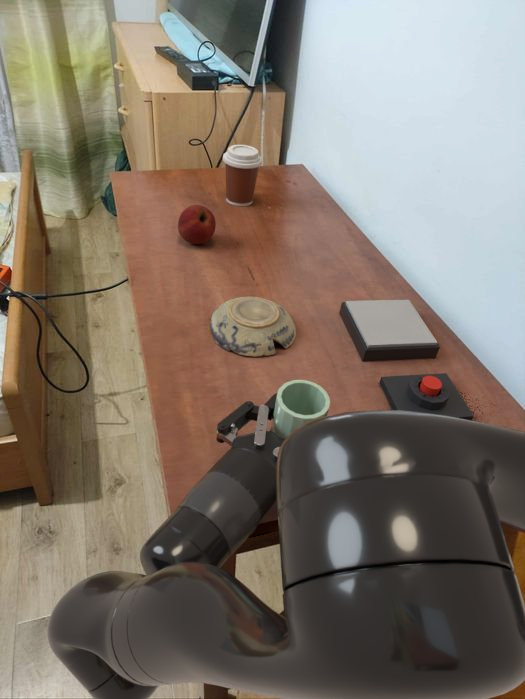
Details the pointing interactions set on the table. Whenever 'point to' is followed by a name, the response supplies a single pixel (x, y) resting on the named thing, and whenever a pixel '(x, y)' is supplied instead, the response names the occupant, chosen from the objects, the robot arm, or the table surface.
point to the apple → (196, 224)
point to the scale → (388, 330)
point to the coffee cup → (241, 174)
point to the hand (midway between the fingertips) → (307, 409)
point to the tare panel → (424, 396)
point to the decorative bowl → (252, 326)
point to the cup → (298, 406)
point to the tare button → (430, 385)
